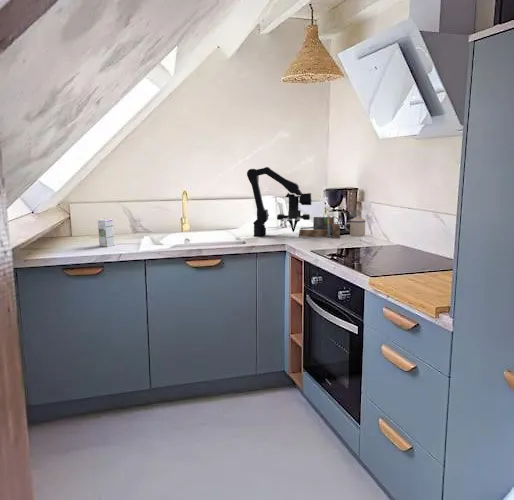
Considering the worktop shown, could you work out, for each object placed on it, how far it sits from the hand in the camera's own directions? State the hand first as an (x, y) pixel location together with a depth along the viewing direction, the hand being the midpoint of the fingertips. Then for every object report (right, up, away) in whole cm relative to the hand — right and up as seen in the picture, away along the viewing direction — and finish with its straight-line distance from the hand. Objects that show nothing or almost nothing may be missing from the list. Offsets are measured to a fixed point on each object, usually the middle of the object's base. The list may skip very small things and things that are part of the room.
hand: (293, 231), depth 293 cm
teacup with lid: (+36, -2, +3) cm, 37 cm away
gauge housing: (+19, -2, +2) cm, 20 cm away
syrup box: (-101, -9, -26) cm, 105 cm away
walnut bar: (+12, -3, 0) cm, 12 cm away
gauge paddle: (+21, -2, +1) cm, 21 cm away
